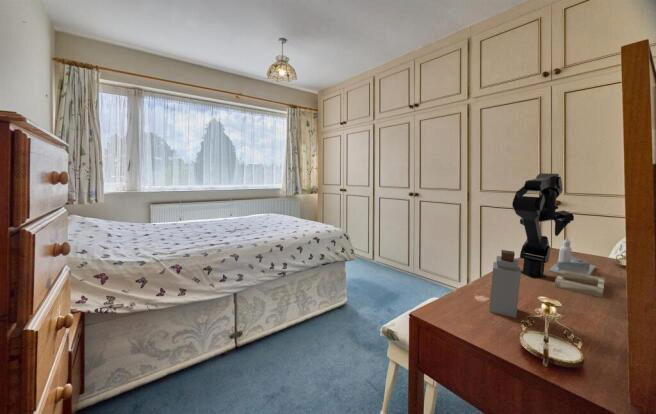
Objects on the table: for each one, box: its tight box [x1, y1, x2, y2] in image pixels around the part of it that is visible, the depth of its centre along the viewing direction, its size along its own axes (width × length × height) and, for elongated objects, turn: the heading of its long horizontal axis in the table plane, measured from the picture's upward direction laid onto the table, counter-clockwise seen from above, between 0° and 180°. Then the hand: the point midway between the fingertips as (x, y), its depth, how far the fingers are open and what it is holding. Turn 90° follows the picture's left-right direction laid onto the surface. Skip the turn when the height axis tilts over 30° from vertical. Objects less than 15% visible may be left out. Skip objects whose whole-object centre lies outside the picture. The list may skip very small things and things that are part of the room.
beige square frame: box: [554, 270, 605, 298], centre depth 106 cm, size 16×13×2 cm
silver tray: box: [549, 255, 596, 275], centre depth 123 cm, size 12×20×4 cm, turn 132°
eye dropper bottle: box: [557, 237, 572, 262], centre depth 124 cm, size 4×6×12 cm
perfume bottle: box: [488, 249, 522, 319], centre depth 86 cm, size 7×7×18 cm
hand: (545, 237), depth 124 cm, fingers open, 9 cm apart
